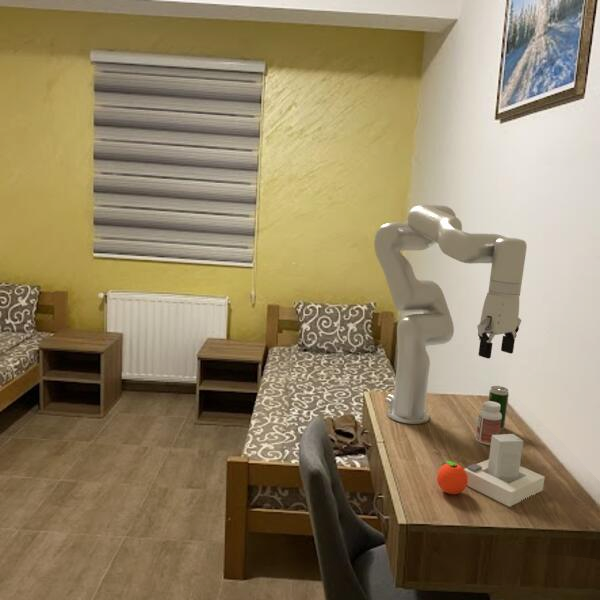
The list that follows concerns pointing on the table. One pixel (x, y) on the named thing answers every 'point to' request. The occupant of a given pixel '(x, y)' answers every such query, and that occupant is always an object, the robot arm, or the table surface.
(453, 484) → the clementine
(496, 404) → the pill bottle
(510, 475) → the skincare box
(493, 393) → the beer can
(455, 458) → the table surface
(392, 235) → the robot arm
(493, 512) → the table surface
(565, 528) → the table surface
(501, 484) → the socket plate
